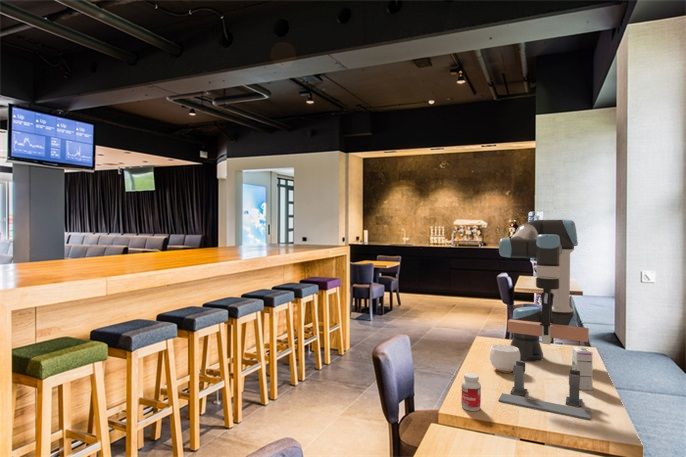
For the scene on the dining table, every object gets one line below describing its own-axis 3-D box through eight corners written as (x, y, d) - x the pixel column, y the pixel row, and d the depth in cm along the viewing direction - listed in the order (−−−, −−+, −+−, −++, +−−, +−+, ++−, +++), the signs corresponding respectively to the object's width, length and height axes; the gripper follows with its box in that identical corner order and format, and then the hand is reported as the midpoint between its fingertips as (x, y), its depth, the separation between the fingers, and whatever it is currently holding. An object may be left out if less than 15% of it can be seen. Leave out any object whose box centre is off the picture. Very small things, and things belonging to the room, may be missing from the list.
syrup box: (593, 390, 163) (593, 351, 163) (576, 389, 164) (576, 350, 164) (587, 384, 168) (588, 347, 168) (571, 383, 169) (571, 346, 169)
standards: (513, 388, 164) (513, 360, 164) (582, 401, 152) (583, 371, 152) (510, 394, 158) (510, 365, 158) (582, 408, 146) (582, 377, 146)
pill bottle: (458, 408, 145) (458, 375, 145) (466, 402, 150) (466, 370, 150) (476, 413, 141) (476, 379, 141) (483, 407, 146) (483, 375, 146)
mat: (502, 394, 157) (502, 393, 157) (590, 412, 143) (590, 410, 143) (498, 401, 151) (498, 399, 151) (590, 420, 137) (590, 418, 137)
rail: (509, 329, 163) (509, 319, 163) (588, 339, 150) (588, 328, 150) (507, 332, 160) (507, 321, 160) (588, 342, 147) (588, 330, 147)
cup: (488, 373, 181) (488, 350, 181) (490, 364, 192) (490, 342, 192) (520, 377, 176) (520, 353, 176) (520, 368, 188) (520, 345, 187)
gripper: (538, 274, 164) (537, 335, 164) (533, 279, 149) (532, 346, 150) (560, 275, 160) (559, 338, 161) (557, 280, 146) (556, 349, 146)
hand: (546, 342), depth 155 cm, fingers closed on rail, 4 cm apart
